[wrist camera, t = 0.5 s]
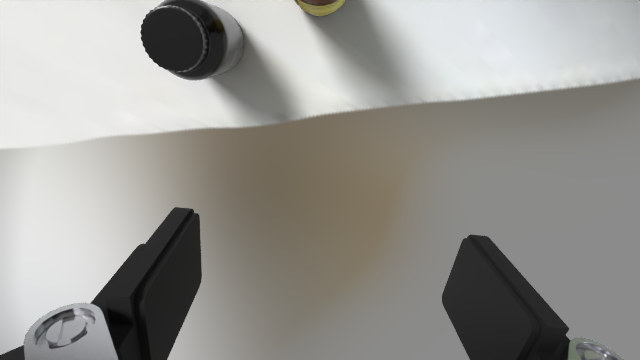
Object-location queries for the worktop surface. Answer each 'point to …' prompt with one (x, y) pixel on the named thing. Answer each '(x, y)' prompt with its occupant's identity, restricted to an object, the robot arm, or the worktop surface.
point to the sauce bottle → (320, 6)
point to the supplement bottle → (192, 38)
